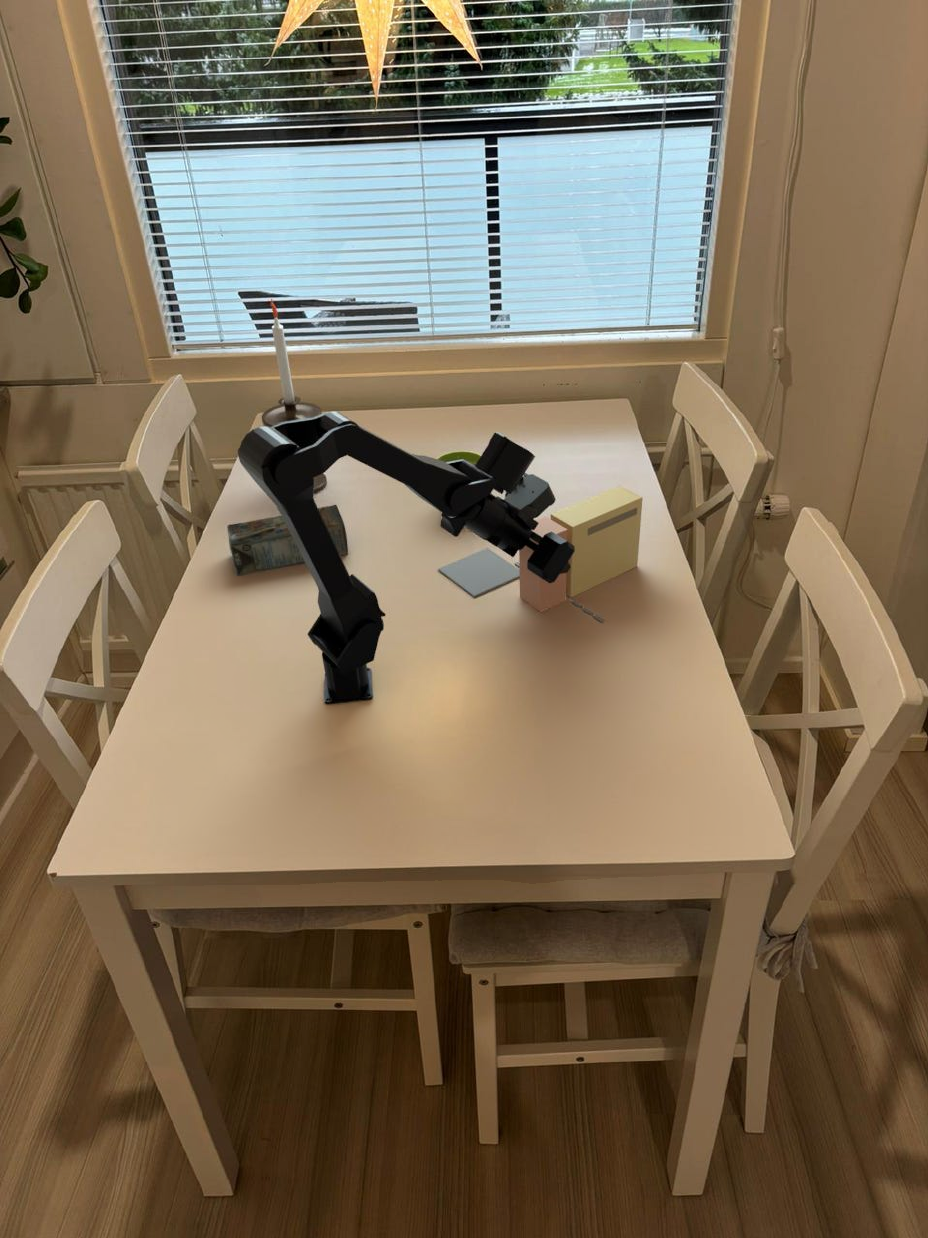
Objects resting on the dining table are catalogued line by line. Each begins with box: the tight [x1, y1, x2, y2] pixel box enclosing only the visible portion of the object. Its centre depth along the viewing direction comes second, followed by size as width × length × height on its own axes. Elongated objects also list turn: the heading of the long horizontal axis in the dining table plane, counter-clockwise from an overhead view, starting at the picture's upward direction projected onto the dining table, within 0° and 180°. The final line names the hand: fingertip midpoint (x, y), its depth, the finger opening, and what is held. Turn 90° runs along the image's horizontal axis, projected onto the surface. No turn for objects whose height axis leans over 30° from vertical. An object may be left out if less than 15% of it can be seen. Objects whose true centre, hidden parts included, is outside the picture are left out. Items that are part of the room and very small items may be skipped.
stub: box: [518, 516, 567, 613], centre depth 139 cm, size 5×5×12 cm
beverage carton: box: [226, 504, 349, 576], centre depth 155 cm, size 8×19×7 cm, turn 106°
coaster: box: [437, 547, 520, 598], centre depth 149 cm, size 10×10×1 cm
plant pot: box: [435, 450, 482, 466], centre depth 165 cm, size 9×9×9 cm
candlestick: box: [261, 298, 328, 495], centre depth 167 cm, size 11×11×35 cm
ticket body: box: [550, 485, 643, 598], centre depth 144 cm, size 14×5×12 cm, turn 125°
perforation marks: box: [514, 561, 605, 624], centre depth 144 cm, size 1×21×1 cm, turn 35°
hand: (549, 557), depth 139 cm, fingers open, 8 cm apart
